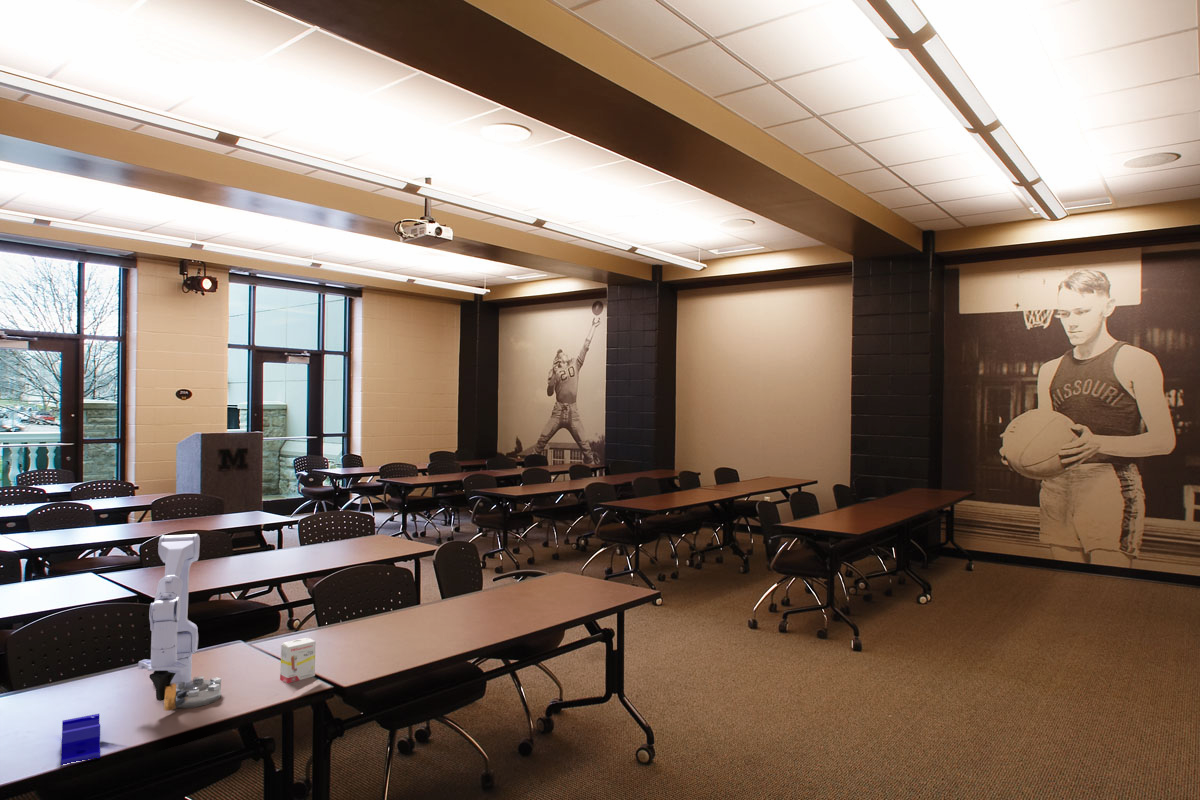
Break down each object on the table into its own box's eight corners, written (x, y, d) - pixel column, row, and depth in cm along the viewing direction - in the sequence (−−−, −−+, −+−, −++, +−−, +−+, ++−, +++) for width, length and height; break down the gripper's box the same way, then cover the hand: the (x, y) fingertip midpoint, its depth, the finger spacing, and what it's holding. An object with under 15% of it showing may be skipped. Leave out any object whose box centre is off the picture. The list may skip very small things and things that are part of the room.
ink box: (286, 688, 206) (287, 646, 207) (279, 683, 210) (280, 643, 210) (315, 680, 213) (316, 640, 213) (307, 676, 216) (308, 636, 216)
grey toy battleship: (190, 689, 201) (190, 662, 201) (230, 692, 200) (231, 664, 200) (144, 715, 184) (144, 685, 184) (188, 717, 182) (188, 688, 183)
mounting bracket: (100, 759, 164) (100, 733, 164) (60, 768, 159) (61, 741, 160) (98, 731, 178) (98, 706, 178) (62, 738, 174) (62, 713, 174)
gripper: (128, 648, 184) (126, 701, 183) (172, 654, 179) (171, 708, 179) (152, 640, 190) (151, 691, 190) (196, 645, 186) (194, 698, 186)
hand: (162, 699), depth 185 cm, fingers closed
